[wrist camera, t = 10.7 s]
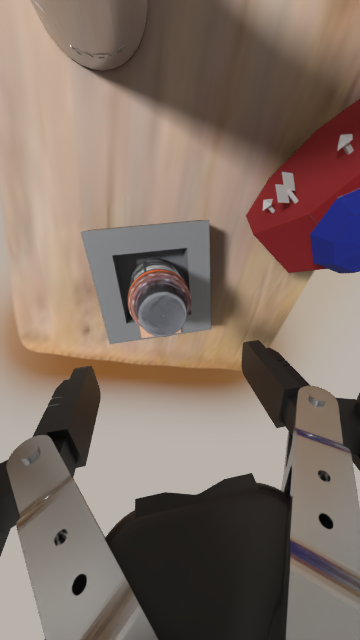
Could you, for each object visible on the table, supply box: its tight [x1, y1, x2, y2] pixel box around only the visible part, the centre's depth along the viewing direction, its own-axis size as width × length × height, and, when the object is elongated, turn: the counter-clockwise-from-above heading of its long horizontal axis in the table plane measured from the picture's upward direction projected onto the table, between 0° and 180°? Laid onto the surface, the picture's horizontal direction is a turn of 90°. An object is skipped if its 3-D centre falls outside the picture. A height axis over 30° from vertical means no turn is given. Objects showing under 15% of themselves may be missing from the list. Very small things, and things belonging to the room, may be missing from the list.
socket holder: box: [81, 220, 211, 344], centre depth 26 cm, size 13×13×4 cm
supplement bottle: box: [128, 258, 192, 337], centre depth 22 cm, size 6×6×11 cm
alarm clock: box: [246, 99, 360, 273], centre depth 17 cm, size 15×9×20 cm, turn 140°
